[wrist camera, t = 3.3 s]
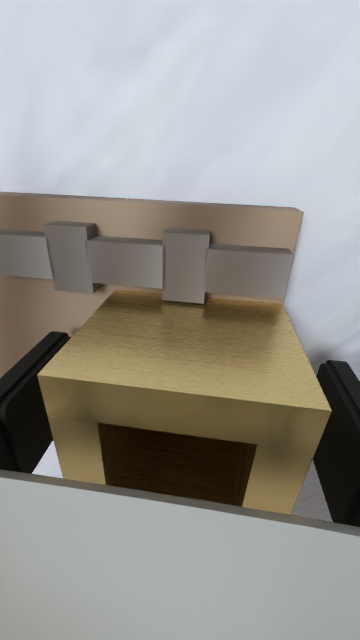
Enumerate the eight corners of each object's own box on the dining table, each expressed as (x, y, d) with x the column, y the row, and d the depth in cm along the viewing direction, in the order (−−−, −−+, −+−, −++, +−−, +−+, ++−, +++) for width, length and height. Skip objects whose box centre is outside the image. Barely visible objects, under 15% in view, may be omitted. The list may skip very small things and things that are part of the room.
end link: (282, 303, 10) (332, 410, 5) (254, 425, 13) (272, 561, 8) (115, 289, 10) (37, 374, 6) (124, 408, 13) (75, 526, 9)
